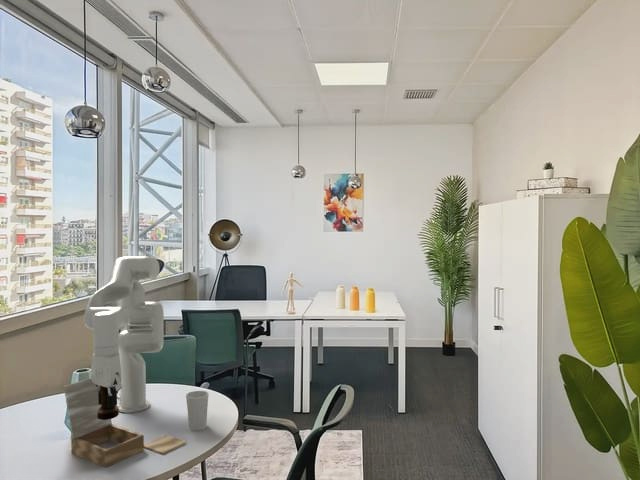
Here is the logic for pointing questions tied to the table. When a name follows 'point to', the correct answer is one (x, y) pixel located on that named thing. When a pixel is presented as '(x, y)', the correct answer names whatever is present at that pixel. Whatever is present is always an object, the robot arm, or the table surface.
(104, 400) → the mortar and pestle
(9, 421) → the table surface
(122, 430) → the cold frame
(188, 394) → the cup
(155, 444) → the cork mat
